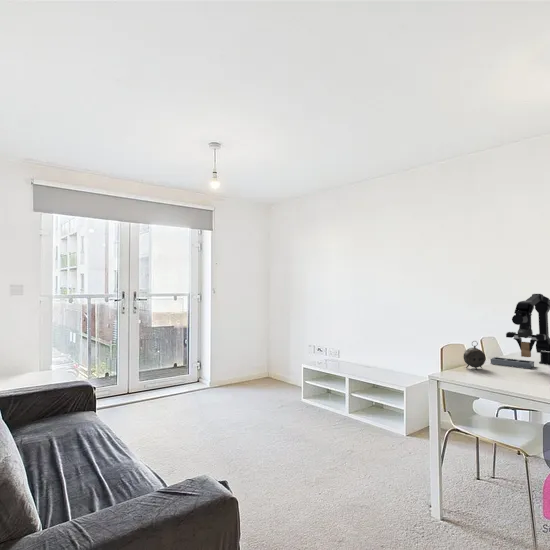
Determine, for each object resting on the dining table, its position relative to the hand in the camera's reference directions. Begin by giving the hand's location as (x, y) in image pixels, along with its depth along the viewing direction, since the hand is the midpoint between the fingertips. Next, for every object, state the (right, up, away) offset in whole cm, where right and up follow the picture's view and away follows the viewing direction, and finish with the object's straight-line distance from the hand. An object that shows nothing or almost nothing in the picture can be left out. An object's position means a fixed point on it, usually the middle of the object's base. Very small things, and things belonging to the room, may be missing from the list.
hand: (525, 351), depth 222 cm
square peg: (0, -3, 0) cm, 3 cm away
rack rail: (-1, -11, +12) cm, 16 cm away
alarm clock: (-28, -11, +2) cm, 30 cm away
